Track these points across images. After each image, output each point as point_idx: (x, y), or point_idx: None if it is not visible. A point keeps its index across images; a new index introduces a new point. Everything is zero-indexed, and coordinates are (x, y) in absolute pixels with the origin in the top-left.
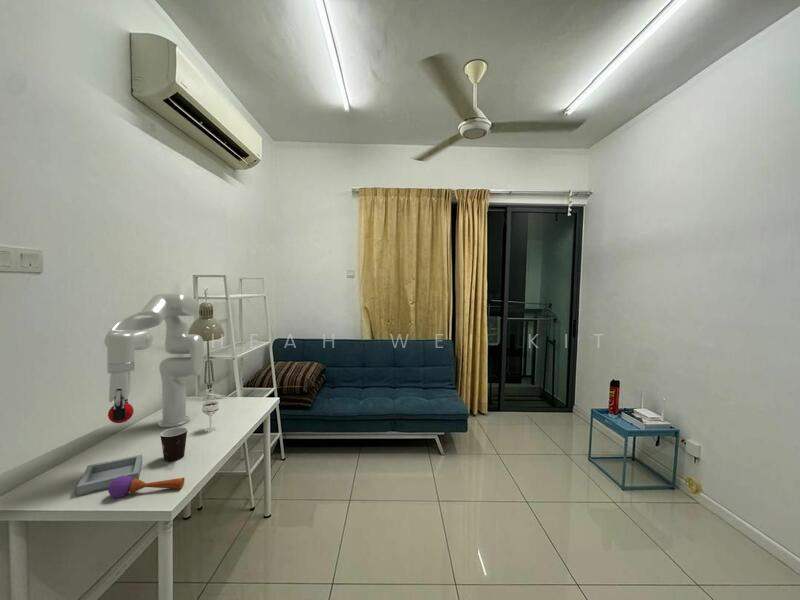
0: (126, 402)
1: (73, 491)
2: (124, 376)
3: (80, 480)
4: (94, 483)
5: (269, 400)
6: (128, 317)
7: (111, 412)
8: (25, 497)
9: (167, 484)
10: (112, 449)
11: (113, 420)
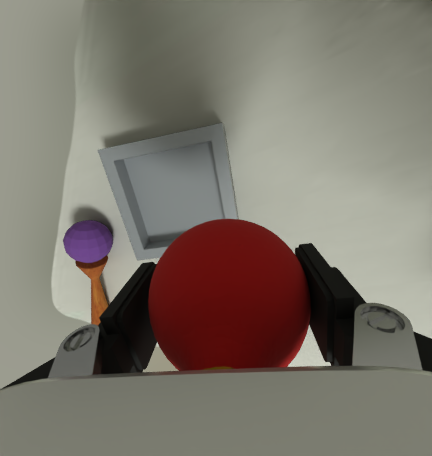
0: (336, 358)
1: (136, 130)
2: None
3: (129, 143)
4: (110, 183)
5: None
6: None
7: (157, 272)
8: (133, 5)
9: (91, 307)
10: (394, 129)
11: (143, 263)
